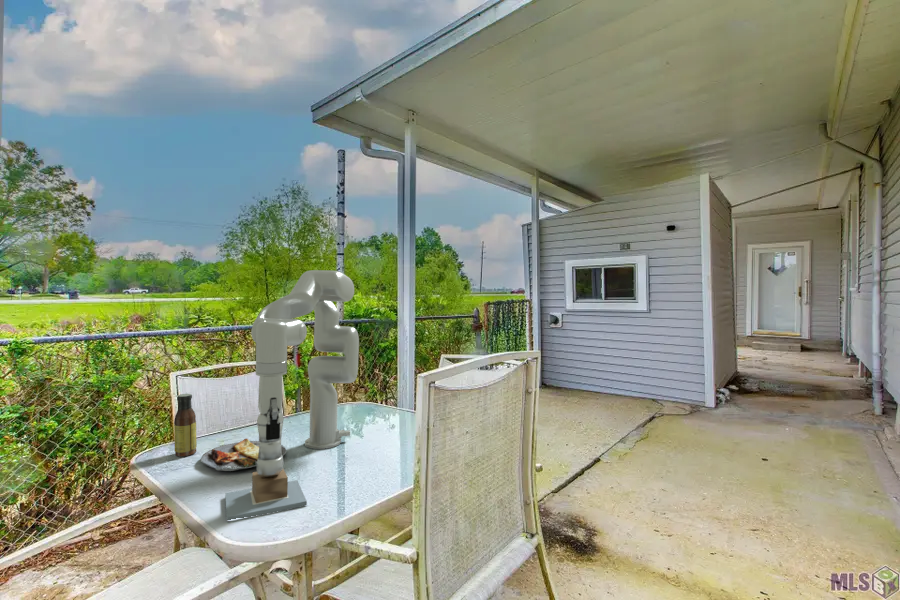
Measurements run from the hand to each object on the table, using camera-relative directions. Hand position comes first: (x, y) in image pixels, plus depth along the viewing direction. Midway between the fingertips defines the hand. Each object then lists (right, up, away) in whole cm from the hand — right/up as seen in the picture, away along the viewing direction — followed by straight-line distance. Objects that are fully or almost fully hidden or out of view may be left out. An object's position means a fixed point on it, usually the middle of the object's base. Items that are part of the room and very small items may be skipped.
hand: (270, 433), depth 112 cm
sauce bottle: (-41, -17, +30) cm, 53 cm away
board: (-1, -17, -2) cm, 17 cm away
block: (0, -16, 0) cm, 16 cm away
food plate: (-20, -17, +27) cm, 38 cm away
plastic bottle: (0, -11, 0) cm, 11 cm away
